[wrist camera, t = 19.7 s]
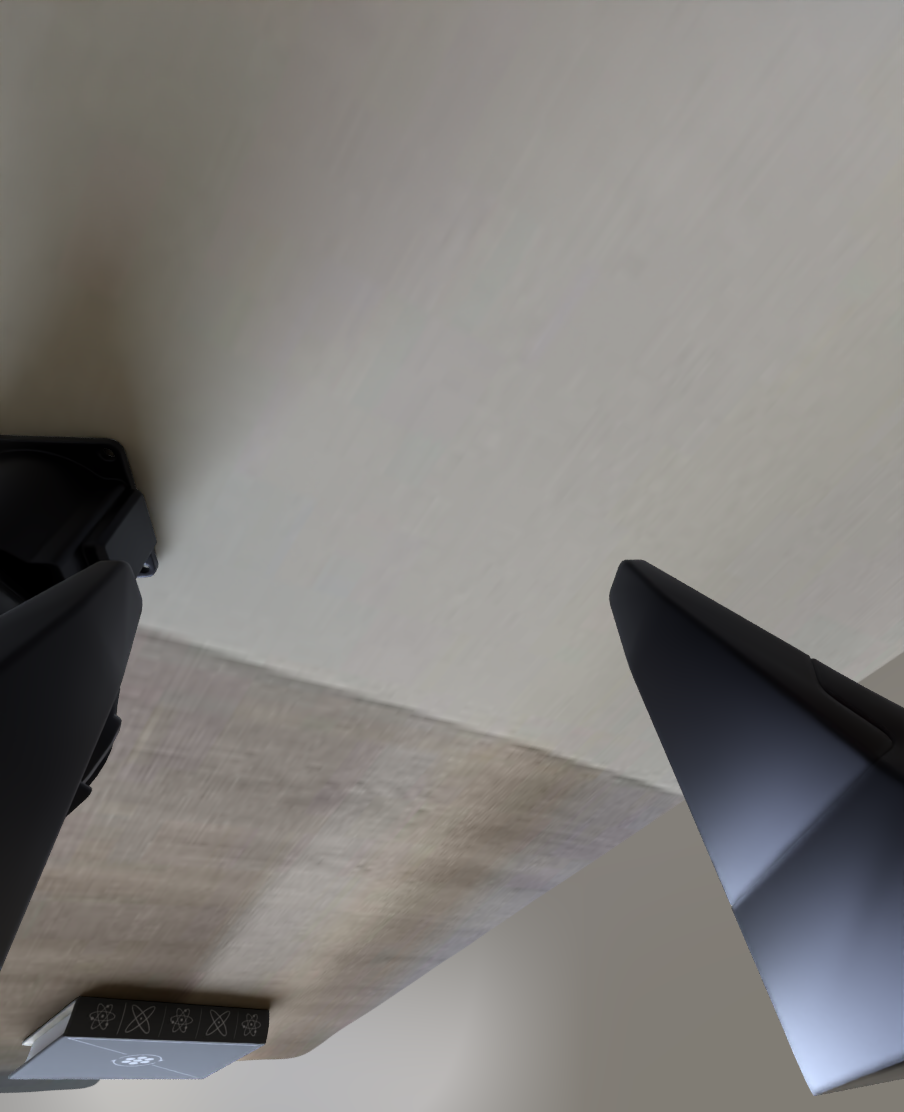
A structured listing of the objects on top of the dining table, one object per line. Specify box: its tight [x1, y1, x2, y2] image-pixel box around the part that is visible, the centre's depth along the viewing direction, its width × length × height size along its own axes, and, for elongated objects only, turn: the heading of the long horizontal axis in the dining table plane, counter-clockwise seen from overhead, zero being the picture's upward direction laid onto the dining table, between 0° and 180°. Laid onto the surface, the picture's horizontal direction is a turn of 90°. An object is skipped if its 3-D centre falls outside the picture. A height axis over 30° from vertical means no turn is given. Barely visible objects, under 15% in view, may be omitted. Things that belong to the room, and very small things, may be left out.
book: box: [8, 997, 269, 1079], centre depth 58 cm, size 22×15×3 cm
